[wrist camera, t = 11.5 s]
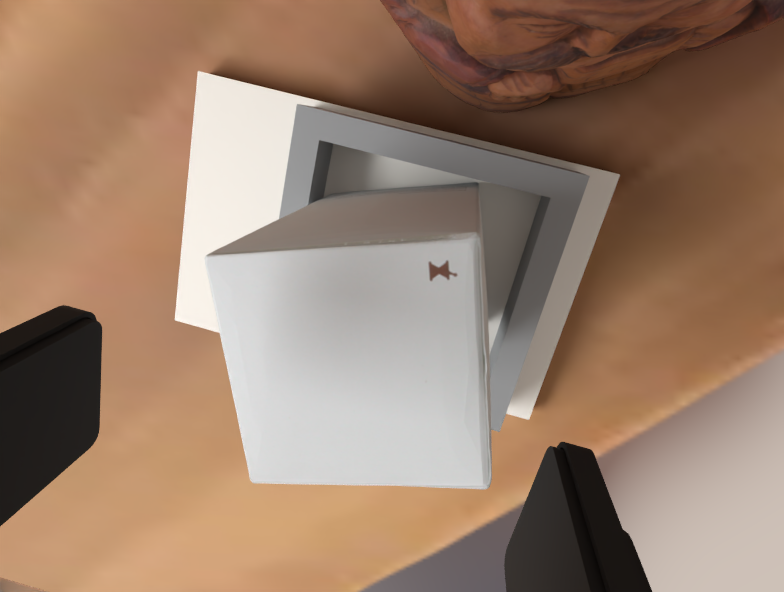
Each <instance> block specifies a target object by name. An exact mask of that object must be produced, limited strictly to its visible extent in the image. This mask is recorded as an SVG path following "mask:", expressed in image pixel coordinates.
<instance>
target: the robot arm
mask: <svg viewBox="0 0 784 592" xmlns="http://www.w3.org/2000/svg"><path fill="white" fill-rule="evenodd" d="M101 352H102V326H101V324H100V323H99V322H97V320H96V317H95V315H94V314H93V313H91V312H88V311H84V310H80V309H77V308H73V307H69V306H64V305H63V306H59V307H57V308H54V309H52V310H50V311H48V312H46V313H43V314H41V315H39V316H37V317H35V318H33V319H30V320H28V321H26V322H24V323H22V324H20V325H17V326H15V327H13V328H11V329H9V330H7V331H4V332H2V333H0V526H1V525H2V524H4V523H5V522H6V521H7V520H8V519H9V518H10V517H12V516H13V515H14V514H15V513H16V512H17V511H18V510H20V509H21V508H22V507H23V506H24V505H25V504H26V503H28V502H29V501H30V500H31V499H32V498H33V497H34V496H36V495H37V494H38V493H39V492H40V491H41V490H42V489H44V488H45V487H46V486H47V485H48V484H49V483H50V482H52V481H53V480H54V479H55V478H56V477H57V476H58V475H60V474H61V473H62V472H63V471H64V470H65V469H66V468H68V467H69V466H70V465H71V464H72V463H73V462H74V461H76V460H77V459H78V458H79V457H80V456H81V455H82V454H84V453H85V452H86V451H87V450H88V449H89V448H90V447H91V446H92V445H93V444H94V442H95V441H96V439H97V437H98V433H99V425H100V389H101ZM505 579H506V591H507V592H652V590H651V587H650V585H649V582H648V580H647V577H646V575H645V572H644V570H643V567H642V564H641V562H640V559H639V557H638V554H637V552H636V549H635V547H634V545H633V542H632V540H631V538H630V536H629V534H628V533H627V532H625V531H624V530H623V529H622V526H621V524H620V521H619V519H618V516H617V513H616V511H615V508H614V505H613V503H612V500H611V498H610V495H609V492H608V490H607V487H606V484H605V482H604V479H603V477H602V474H601V471H600V469H599V466H598V463H597V461H596V458H595V455H594V453H593V451H592V450H590V449H587V448H584V447H580V446H576V445H573V444H569V443H565V442H561V443H560V444H559V445H558V446H557V448H556V447H552V446H550V447H549V448H548V449H547V451H546V453H545V455H544V458H543V460H542V463H541V465H540V467H539V470H538V472H537V475H536V477H535V480H534V482H533V485H532V487H531V490H530V492H529V495H528V497H527V500H526V502H525V505H524V507H523V510H522V512H521V515H520V517H519V519H518V522H517V524H516V527H515V529H514V532H513V534H512V537H511V539H510V542H509V544H508V547H507V550H506V554H505ZM0 592H47V591H44V590H40V589H37V588H34V587H30V586H27V585H24V584H20V583H17V582H14V581H10V580H7V579H4V578H0Z"/></svg>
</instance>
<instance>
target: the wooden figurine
mask: <svg viewBox="0 0 784 592" xmlns="http://www.w3.org/2000/svg"><path fill="white" fill-rule="evenodd" d="M380 1H381V2H382V4H383V5H384V6H385V8H386V9H387V10H388V12H389V13H390V15H391V16H392V18H393V19H394V21H395V22H396V24H397V25H398V26H399V27H400V29H401V30H402V32H403V34H404V36H405V37H406V38H407V40H408V41H409V42H410V44H411V45H412V47H413V48H414V49H415V51H416V52H417V54H418V55H419V57H420V59H421V60H422V61H423V63H424V64H425V66H426V68H427V69H428V70H429V72H430V73H431V74H432V75H433V77H434V78H435V79H436V80H437V81H438V82H439V83H440V84H441V85H442V86H444V87H445V88H446V89H447V90H448V91H449V92H450V93H451V94H453V95H454V96H456V97H457V98H459V99H461V100H462V101H464V102H466V103H468V104H470V105H473V106H476V107H478V108H479V109H482V110H486V111H491V112H512V111H519V110H522V109H525V108H529V107H532V106H536V105H538V104H540V103H542V102H544V101H545V100H547V99H548V98H549V97H550V98H566V97H574V96H577V95H580V94H584V93H587V92H590V91H594V90H597V89H601V88H604V87H607V86H611V85H617V84H620V83H623V82H626V81H630V80H633V79H635V78H638V77H639V76H641V75H643V74H645V73H647V72H648V71H649V69H650V68H651V67H653V66H655V65H656V64H657V63H658V62H659V61H661V60H662V59H663V58H665V57H666V56H667V55H668V54H670V53H672V52H674V51H675V50H680V49H685V50H686V51H700V50H704V49H707V48H710V47H713V46H716V45H718V44H721V43H724V42H726V41H729V40H731V39H734V38H736V37H739V36H742V35H744V34H747V33H750V32H754V31H757V30H760V29H762V28H764V27H766V26H768V25H770V24H773V23H775V22H777V21H779V20H781V19H782V18H784V0H380Z"/></svg>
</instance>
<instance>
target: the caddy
mask: <svg viewBox="0 0 784 592" xmlns="http://www.w3.org/2000/svg"><path fill="white" fill-rule="evenodd" d="M619 177H620V174H616V173H612V172H608V171H604V170H600V169H596V168H592V167H588V166H584V165H580V164H576V163H572V162H568V161H564V160H559V159H555V158H551V157H547V156H543V155H539V154H535V153H531V152H527V151H523V150H519V149H515V148H511V147H506V146H502V145H498V144H494V143H490V142H486V141H482V140H478V139H474V138H470V137H466V136H462V135H457V134H453V133H449V132H445V131H441V130H437V129H433V128H429V127H425V126H421V125H417V124H413V123H409V122H404V121H400V120H396V119H392V118H388V117H384V116H380V115H376V114H372V113H368V112H364V111H360V110H356V109H351V108H347V107H343V106H339V105H335V104H331V103H327V102H323V101H319V100H315V99H311V98H307V97H303V96H298V95H294V94H290V93H286V92H282V91H278V90H274V89H270V88H266V87H262V86H258V85H254V84H249V83H245V82H241V81H237V80H233V79H229V78H225V77H221V76H217V75H213V74H209V73H204V72H200V71H198V77H197V87H196V98H195V109H194V120H193V130H192V141H191V152H190V162H189V173H188V184H187V195H186V205H185V216H184V227H183V238H182V248H181V259H180V270H179V281H178V291H177V302H176V313H175V320H176V321H180V322H183V323H187V324H190V325H194V326H197V327H201V328H205V329H208V330H212V331H215V332H219V333H220V331H219V327H218V322H217V317H216V312H215V307H214V303H213V298H212V293H211V289H210V284H209V279H208V275H207V271H206V266H205V260H204V258H205V256H206V255H207V254H209V253H211V252H213V251H215V250H217V249H219V248H221V247H223V246H225V245H227V244H229V243H231V242H233V241H235V240H237V239H239V238H242V237H243V236H245V235H248V234H250V233H252V232H254V231H256V230H258V229H260V228H262V227H264V226H266V225H268V224H270V223H272V222H274V221H276V220H278V219H280V218H282V217H285V216H287V215H289V214H291V213H293V212H295V211H297V210H299V209H301V208H303V207H306V206H307V205H309V204H311V203H313V202H316V201H317V200H320V199H322V198H324V197H326V196H327V195H330V194H332V193H341V192H352V191H364V190H378V189H389V188H401V187H415V186H431V185H446V184H459V183H473V182H477V183H479V193H480V204H481V215H482V227H483V242H484V258H485V274H486V289H487V305H488V326H489V356H490V392H491V430H495V431H498V432H500V429H501V426H502V423H503V421H504V418H505V415H506V414H510V415H513V416H517V417H520V418H524V419H527V420H529V418H530V416H531V413H532V410H533V407H534V405H535V402H536V399H537V397H538V394H539V391H540V389H541V386H542V383H543V381H544V378H545V375H546V373H547V370H548V367H549V365H550V362H551V359H552V357H553V354H554V351H555V348H556V346H557V343H558V340H559V338H560V335H561V332H562V330H563V327H564V324H565V322H566V319H567V316H568V314H569V311H570V308H571V306H572V303H573V300H574V298H575V295H576V292H577V289H578V287H579V284H580V281H581V279H582V276H583V273H584V271H585V268H586V265H587V263H588V260H589V257H590V255H591V252H592V249H593V247H594V244H595V241H596V239H597V236H598V233H599V230H600V228H601V225H602V222H603V220H604V217H605V214H606V212H607V209H608V206H609V204H610V201H611V198H612V196H613V193H614V190H615V188H616V185H617V182H618V180H619Z"/></svg>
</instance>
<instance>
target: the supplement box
mask: <svg viewBox="0 0 784 592" xmlns="http://www.w3.org/2000/svg"><path fill="white" fill-rule="evenodd" d="M204 260H205V266H206V271H207V275H208V279H209V284H210V289H211V293H212V298H213V303H214V307H215V312H216V317H217V322H218V327H219V331H220V336H221V341H222V346H223V351H224V355H225V360H226V365H227V370H228V374H229V379H230V384H231V389H232V393H233V398H234V403H235V407H236V412H237V417H238V422H239V427H240V432H241V437H242V442H243V447H244V452H245V456H246V461H247V466H248V471H249V476H250V480H251V482H253V483H269V484H321V485H393V486H415V487H437V488H467V489H488V488H489V487H490V484H491V480H492V451H491V392H490V356H489V326H488V305H487V289H486V274H485V258H484V242H483V227H482V215H481V204H480V193H479V183H477V182H473V183H459V184H446V185H431V186H415V187H401V188H389V189H378V190H364V191H352V192H341V193H332V194H330V195H327V196H326V197H324V198H322V199H320V200H317V201H316V202H313V203H311V204H309V205H307V206H306V207H303V208H301V209H299V210H297V211H295V212H293V213H291V214H289V215H287V216H285V217H282V218H280V219H278V220H276V221H274V222H272V223H270V224H268V225H266V226H264V227H262V228H260V229H258V230H256V231H254V232H252V233H250V234H248V235H245V236H243V237H242V238H239V239H237V240H235V241H233V242H231V243H229V244H227V245H225V246H223V247H221V248H219V249H217V250H215V251H213V252H211V253H209V254H207V255H206V256H205V258H204Z"/></svg>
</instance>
